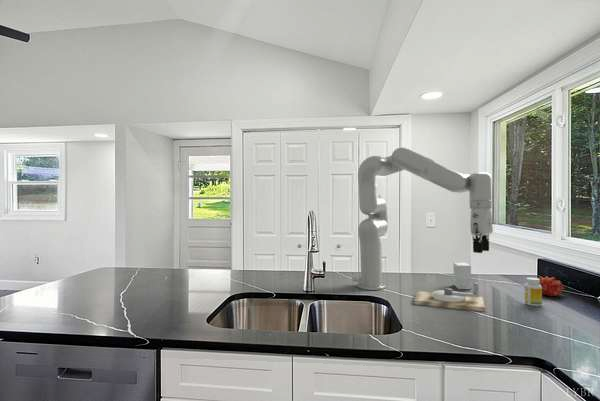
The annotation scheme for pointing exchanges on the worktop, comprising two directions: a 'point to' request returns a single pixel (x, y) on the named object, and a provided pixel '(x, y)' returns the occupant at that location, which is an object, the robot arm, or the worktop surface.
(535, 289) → the supplement bottle
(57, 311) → the worktop surface
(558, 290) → the dragon fruit
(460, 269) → the small box
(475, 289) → the dial
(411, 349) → the worktop surface
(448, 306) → the stand base
